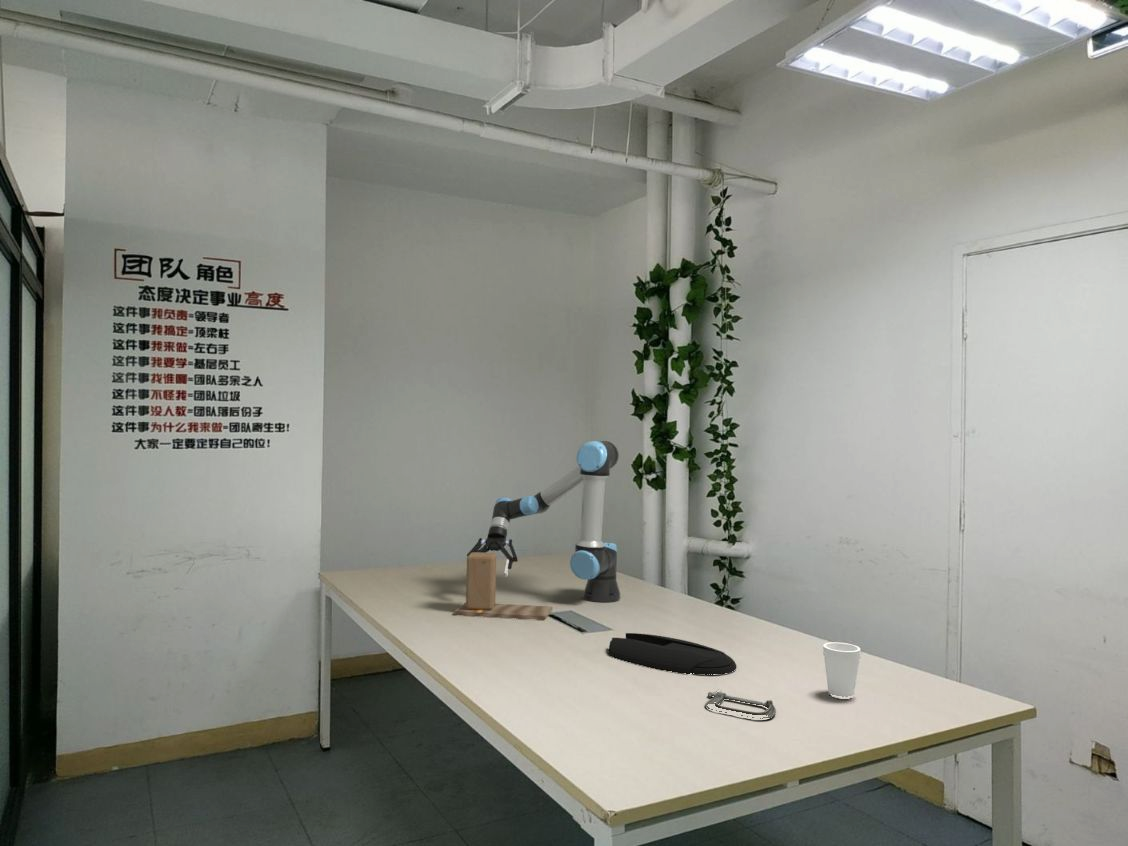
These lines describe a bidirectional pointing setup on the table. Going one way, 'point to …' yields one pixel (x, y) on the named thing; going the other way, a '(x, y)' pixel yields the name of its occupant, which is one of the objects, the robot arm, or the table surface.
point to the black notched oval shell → (670, 654)
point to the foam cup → (841, 667)
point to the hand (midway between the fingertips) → (488, 574)
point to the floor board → (508, 611)
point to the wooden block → (481, 581)
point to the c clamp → (721, 696)
